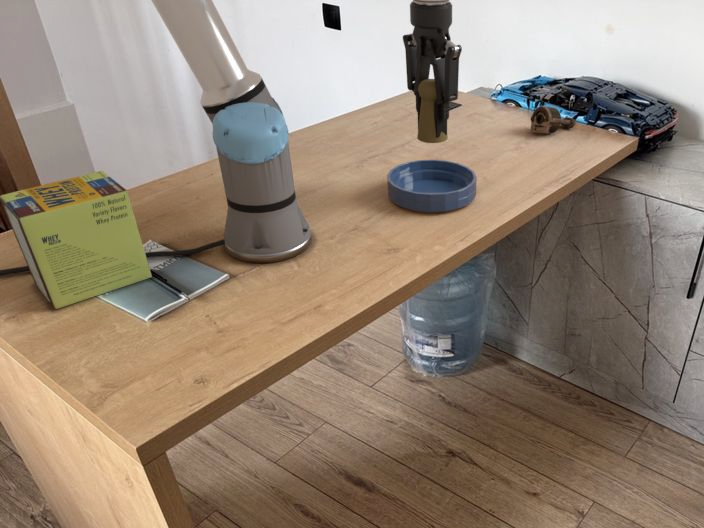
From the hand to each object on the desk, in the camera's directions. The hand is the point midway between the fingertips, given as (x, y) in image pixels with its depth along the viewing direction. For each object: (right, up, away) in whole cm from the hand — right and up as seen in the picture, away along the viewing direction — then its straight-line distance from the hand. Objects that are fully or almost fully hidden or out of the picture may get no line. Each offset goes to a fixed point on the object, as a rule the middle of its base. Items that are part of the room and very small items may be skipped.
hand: (432, 132), depth 133 cm
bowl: (0, -11, +8) cm, 14 cm away
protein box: (-55, -32, -22) cm, 67 cm away
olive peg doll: (0, -1, +1) cm, 1 cm away
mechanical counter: (+30, +13, +42) cm, 53 cm away
